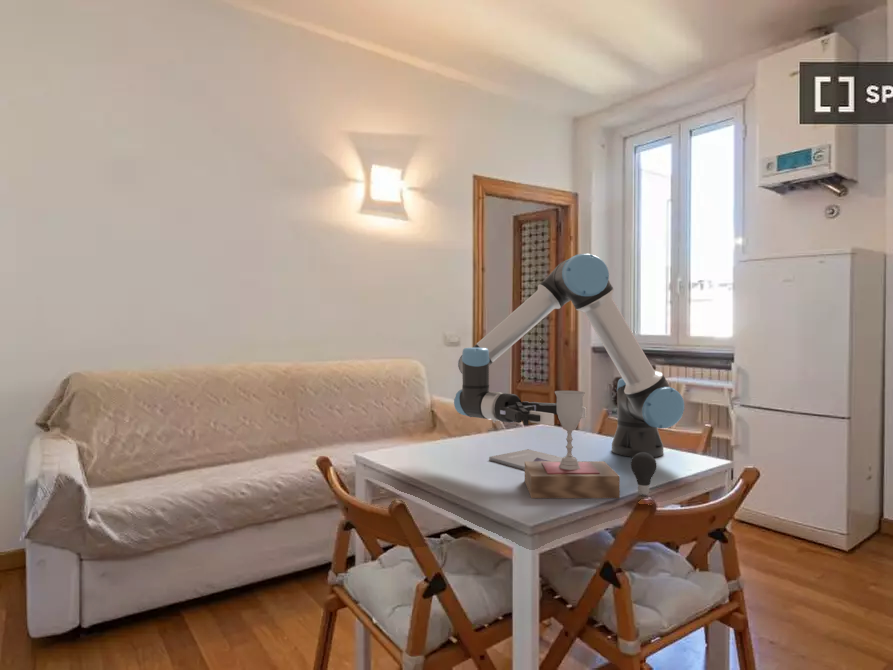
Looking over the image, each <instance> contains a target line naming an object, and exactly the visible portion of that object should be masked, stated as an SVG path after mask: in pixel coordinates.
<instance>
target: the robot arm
mask: <svg viewBox="0 0 893 670" xmlns="http://www.w3.org/2000/svg"><path fill="white" fill-rule="evenodd" d="M609 279H610V273H609V268H608V267H607V264H606V262H605V261H604V260H603V259H601V258H600V257H599V256H598V255H597V256H596V255H594V254H592V253H579V254H575V255H573V256H571V257H570V258H568V259H565V260H563V261H561V262H560V263H559V264H558V265H557V266H556V267H555V268H554V269H553V270H552V271H551V272H550V273H549V275H548V276H546V277H545V279H543V280H542V281H541V282H540V283H539V284H538V285H537V290H536V291H535V292H534V293H533V294H532V295H530V296H529V297H528V298H527V299H526V300H525V301H524V302H522V304H520V305H519V306H518V307H517V308H516V309H515V310H514V311H512V312H511V313H510V314H509V315H508V316H507V317H506V318H504V319H503V320H502V321H501V322H499V324H497V325H496V326H495V327H494V328H493V329H492V330H490V331H489V332H488V333H486V335H485V336H484V337H482V339H480V340H479V341H478V342H476V344H475V345H473V346H471V347H464V348H463V349H462V351H461V352H462V354H461V355H460V356H459V359H458V361H457V363H458V364H457V367H458V369H459V373H460V374H461V376H462V389H460V390H458V391H457V392H456V394H455V398H454V399H453V405H454V409H455V411H456V412H457V413H459V414H460V415H462V416H465V417H466V416H467V417H469V418H477V419H484V420H485V419H486V420H492V423H496V422H503V423H508V424H509V423H510V424H513V423H519V424H520V423H522V422H523V423H522V424H523V426H529V423H530V424H531V423H532V424H538V425H545V426H555V415H557V402H555V403H554V402H551V403H550V402H537V401H530V402H529V401H528V400H527V401H521V399H520V397H519V396H518V395H517V394H515V393H505V392H499V391H497V392H496V391H490V366H491V365H492V364H493V363H494V362H495V361H496V360H497V359H498V358H500V357H501V356H502V355H503V354H504V353H506V352H507V351H508V350H509V349H510V348H511V347H512V346H513V345H515V344H516V343H517V342H518V341H519V340H520V339H522V338H523V337H524V336H525V335H526V334H527V333H528V332H529V331H531V329H533V328H534V327H535V326H537V325H538V324H539V323H540V322H541V321H542V320H543V319H544V318H546V317H547V316H548V315H549V314H551V312H553V311H554V310H559V309H561V308H562V307H564V306H565V305H566V304H567V303H569V302H570V301H571V303H572V305H573V306H574V308H575V310H576V311H578V312H582V313H584V314H585V317H586V318H587V320H588V321H589V323H590V325H591V327H592V328H593V330H594V332H595V333H596V335H597V337H598V339H599V341H600V342H601V344H602V346H603V347H604V349H605V350H606V353H607V354H608V356H609V358H610V359H611V361H612V364H614V367H616V370H617V371H618V373H619V375H620V376H621V378H619V379H618V380H617V388H616V394H617V395H616V396H617V397H616V401H617V402H616V403H617V405H616V406H617V418H616V419H617V426H616V430H615V433H614V436H613V439H612V443H611V451H612V453H614V454H617V455H619V456H624V457H630V458H631V457H632V458H633V456H634V455H636V454H637V453H640V452H645V453H648V454H650V455H651V456H653V458H656V457H661V456H663V455H664V444H663V442H662V439H661V435H660V433H659V429H669V428H671V427H673V426H675V425H676V424H677V423H678V422H679V421H680V420H681V419H682V418H683V414H684V411H685V400H684V398H683V396H682V395H681V393H680V392H679V390H677V389H675V388H674V387H671V385H670V384H669V382H668V380H667V379H666V377H665V375H664V374H663V372H662V371H659V370H655V369H654V367H653V366H652V364H651V363H650V361H649V359H648V357H647V355H646V354H645V352H644V351H643V349H642V347H641V345H640V344H639V342H638V340H637V338H636V337H635V335H634V334H633V332H632V330H631V328H630V326H629V324H628V323H627V321H626V319H625V318H624V316H623V313H621V310H620V309H619V307H618V305H617V304H616V302H615V301H614V298H613V293H614V287H613V285H612V284H611V282H610V280H609ZM587 410H588V409H587V407H585V406H583V414H582V416H581V419H583V420H584V419H585V420H586V419H587V414H588V413H587ZM557 416H558V415H557Z"/></svg>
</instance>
